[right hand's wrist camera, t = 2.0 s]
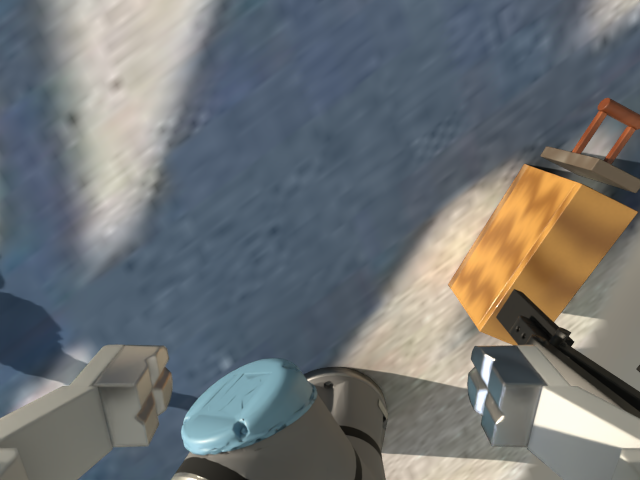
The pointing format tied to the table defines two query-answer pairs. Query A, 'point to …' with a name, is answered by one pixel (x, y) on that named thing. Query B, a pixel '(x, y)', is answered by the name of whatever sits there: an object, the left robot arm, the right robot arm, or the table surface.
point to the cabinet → (537, 247)
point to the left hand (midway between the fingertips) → (581, 331)
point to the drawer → (603, 168)
